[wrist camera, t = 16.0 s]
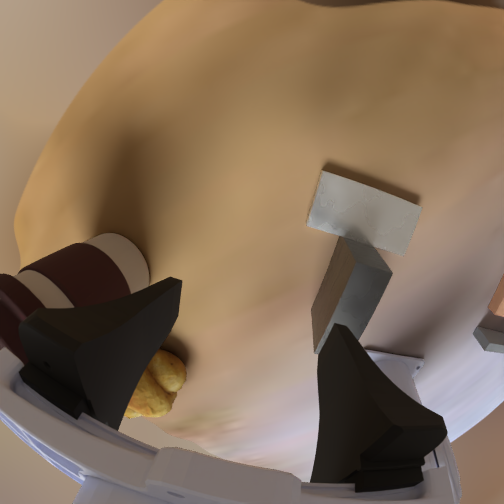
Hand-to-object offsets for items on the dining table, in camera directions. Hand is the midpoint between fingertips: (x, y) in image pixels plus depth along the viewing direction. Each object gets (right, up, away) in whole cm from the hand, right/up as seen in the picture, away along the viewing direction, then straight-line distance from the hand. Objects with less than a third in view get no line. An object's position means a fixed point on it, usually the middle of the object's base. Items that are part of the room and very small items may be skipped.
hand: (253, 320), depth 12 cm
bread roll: (-12, -10, +16) cm, 23 cm away
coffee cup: (-13, +2, +12) cm, 17 cm away
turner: (+7, +3, +8) cm, 11 cm away
